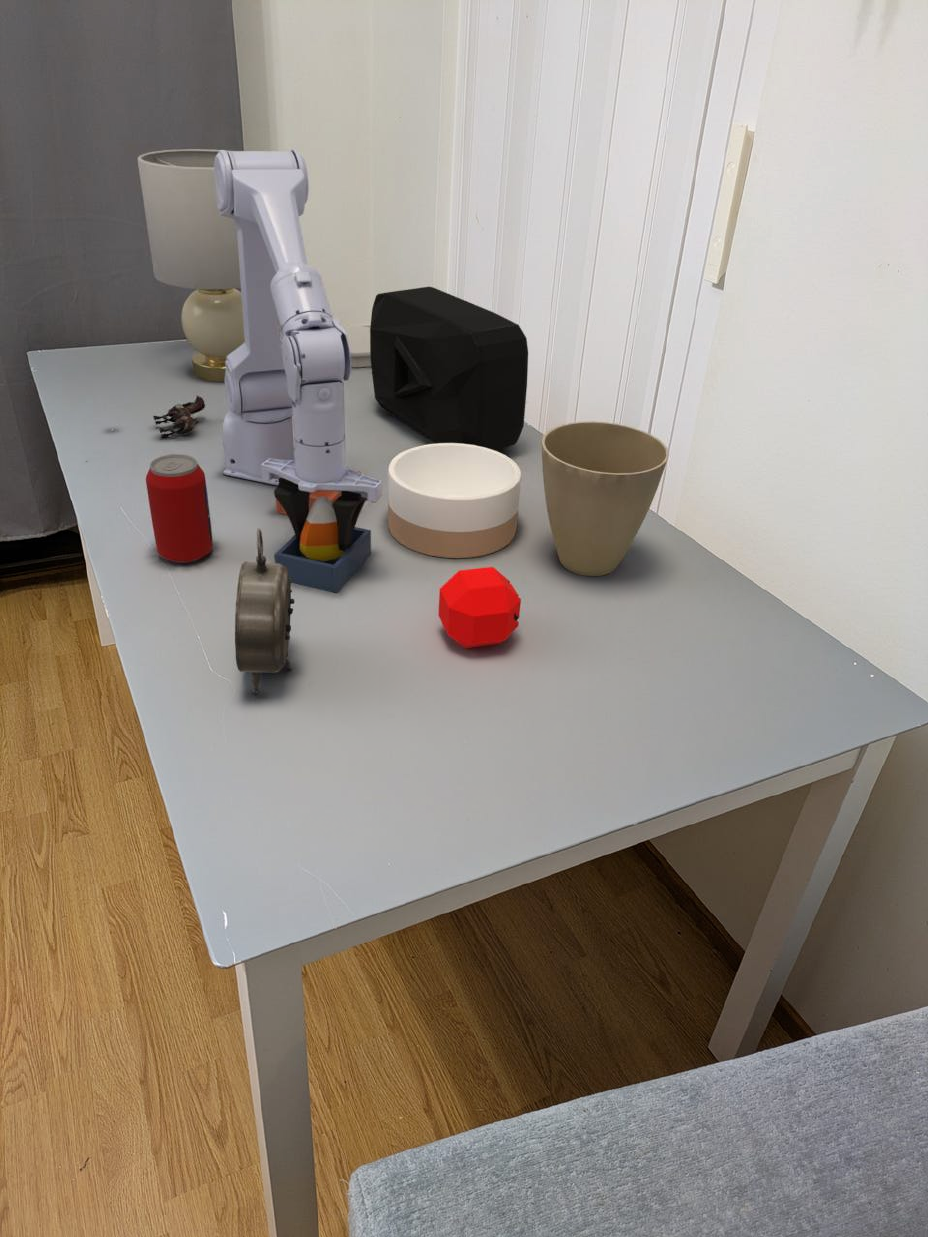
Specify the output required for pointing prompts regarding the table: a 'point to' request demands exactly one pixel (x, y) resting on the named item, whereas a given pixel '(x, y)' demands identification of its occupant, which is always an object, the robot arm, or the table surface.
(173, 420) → the horse figurine
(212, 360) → the lamp
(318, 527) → the candy corn
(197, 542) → the beverage can
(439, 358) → the black hard case
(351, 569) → the slate bin
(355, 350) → the lid
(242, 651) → the alarm clock
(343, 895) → the table surface
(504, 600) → the ball
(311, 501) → the terracotta bin
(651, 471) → the plant pot
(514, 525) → the bowl
